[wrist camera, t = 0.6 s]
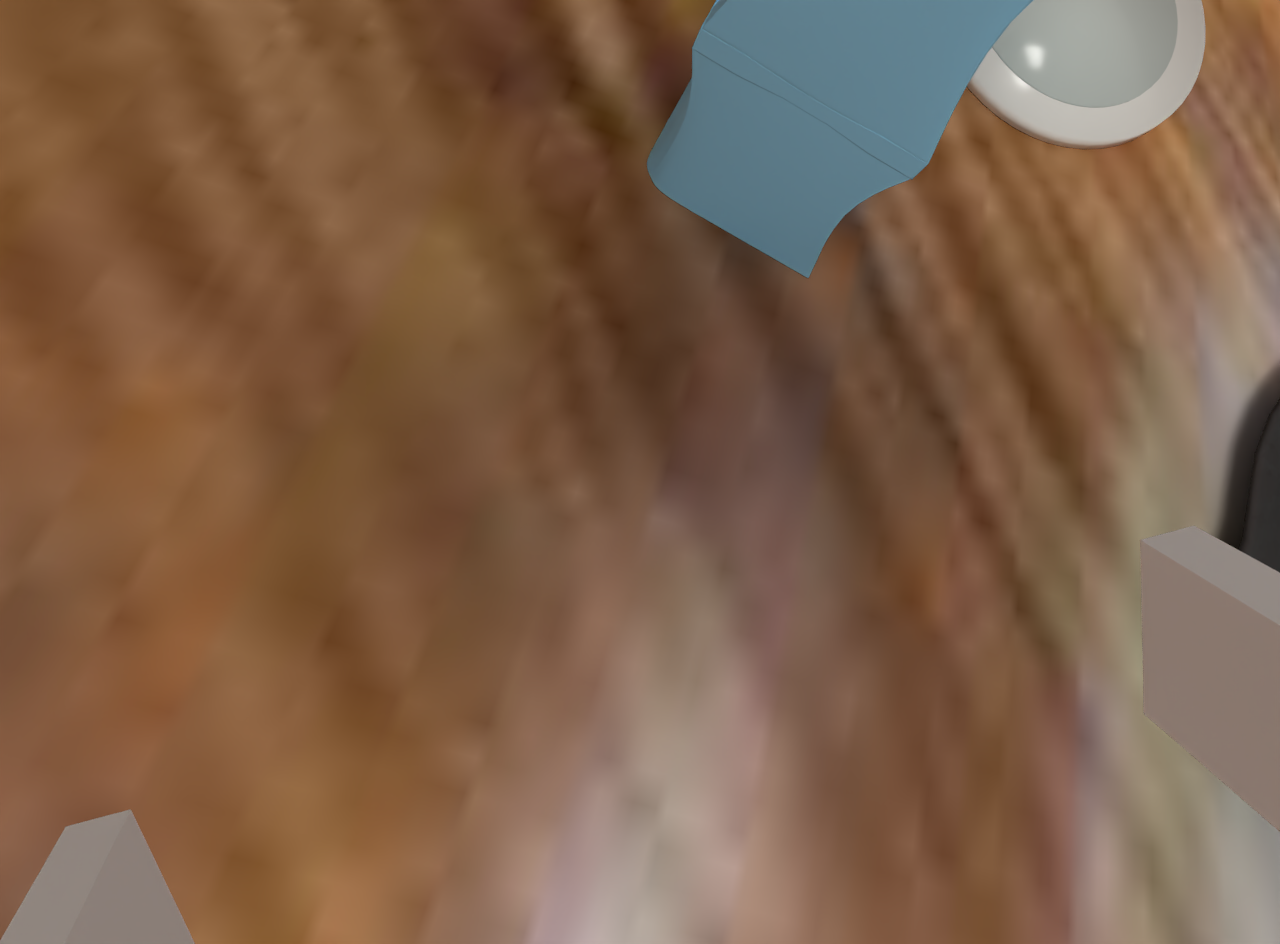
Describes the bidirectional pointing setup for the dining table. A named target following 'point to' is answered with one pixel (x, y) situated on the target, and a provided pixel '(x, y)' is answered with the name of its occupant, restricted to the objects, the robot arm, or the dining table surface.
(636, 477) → the dining table surface
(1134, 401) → the dining table surface
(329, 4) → the dining table surface
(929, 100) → the vase
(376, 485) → the dining table surface
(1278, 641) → the robot arm
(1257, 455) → the casserole
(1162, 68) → the plate
